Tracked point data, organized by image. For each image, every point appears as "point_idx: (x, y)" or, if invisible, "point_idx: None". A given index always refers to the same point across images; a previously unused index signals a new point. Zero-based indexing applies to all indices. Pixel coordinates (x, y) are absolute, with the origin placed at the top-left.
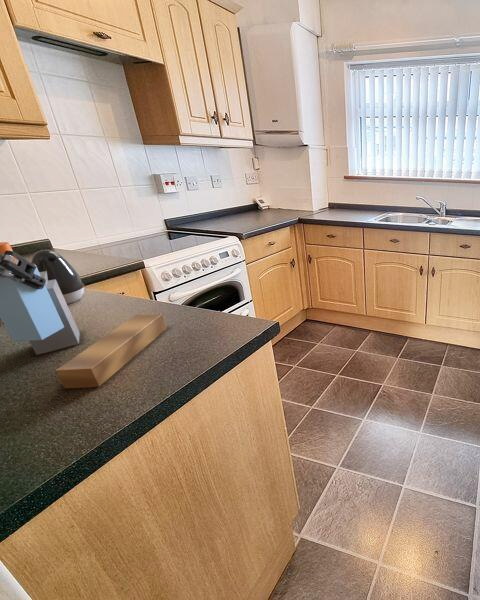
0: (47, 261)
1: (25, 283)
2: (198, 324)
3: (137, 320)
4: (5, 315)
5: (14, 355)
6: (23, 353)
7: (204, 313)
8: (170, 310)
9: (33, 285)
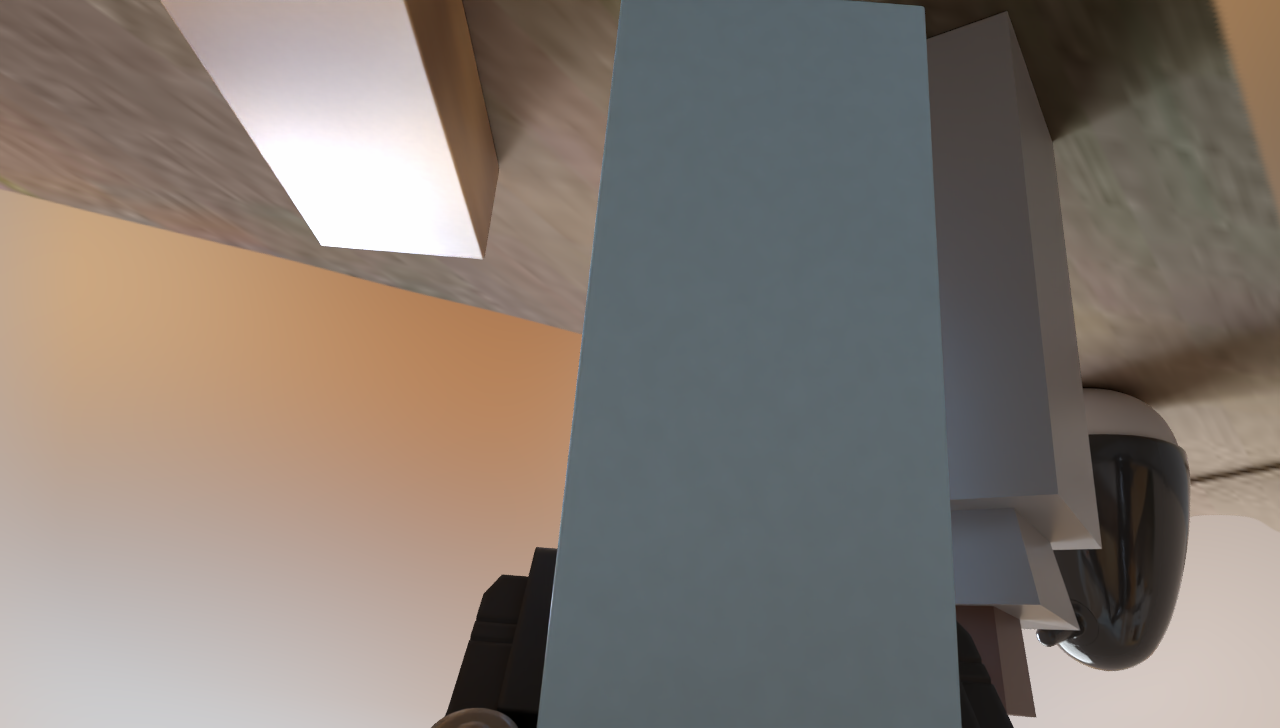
0: (1087, 615)
1: (526, 663)
2: (194, 165)
3: (401, 210)
4: (866, 285)
5: (1168, 31)
6: (1113, 45)
7: (285, 245)
8: (504, 289)
9: (520, 612)
